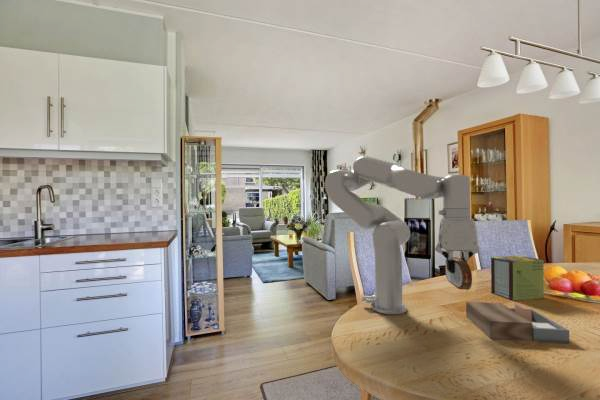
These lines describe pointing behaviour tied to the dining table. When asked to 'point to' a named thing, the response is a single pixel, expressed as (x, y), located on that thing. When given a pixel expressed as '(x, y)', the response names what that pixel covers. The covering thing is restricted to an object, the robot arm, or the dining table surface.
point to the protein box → (517, 277)
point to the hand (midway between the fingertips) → (456, 271)
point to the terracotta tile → (523, 311)
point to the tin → (460, 274)
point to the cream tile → (542, 325)
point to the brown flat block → (499, 321)
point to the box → (547, 330)
